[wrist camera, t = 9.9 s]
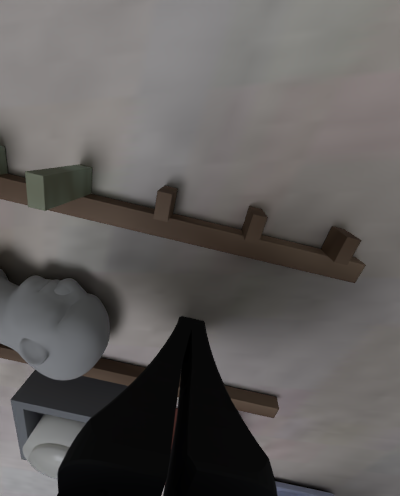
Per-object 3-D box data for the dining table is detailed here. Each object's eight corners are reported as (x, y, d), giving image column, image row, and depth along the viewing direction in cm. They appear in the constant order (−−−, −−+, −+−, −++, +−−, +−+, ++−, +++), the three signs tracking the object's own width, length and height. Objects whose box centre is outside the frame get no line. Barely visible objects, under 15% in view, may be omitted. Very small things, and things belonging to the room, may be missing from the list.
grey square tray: (128, 439, 19) (115, 478, 17) (45, 421, 19) (21, 459, 17) (137, 385, 16) (124, 424, 14) (39, 364, 16) (10, 399, 14)
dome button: (114, 434, 18) (93, 491, 15) (54, 421, 18) (22, 476, 15) (118, 397, 16) (96, 453, 13) (52, 382, 16) (14, 436, 13)
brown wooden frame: (271, 405, 16) (282, 462, 13) (-12, 342, 16) (-65, 387, 13) (368, 235, 11) (424, 268, 8) (-58, 131, 10) (-167, 125, 7)
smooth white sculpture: (136, 298, 15) (93, 359, 15) (17, 227, 13) (-29, 297, 14) (124, 335, 11) (64, 418, 11) (-54, 237, 9) (-117, 338, 9)
